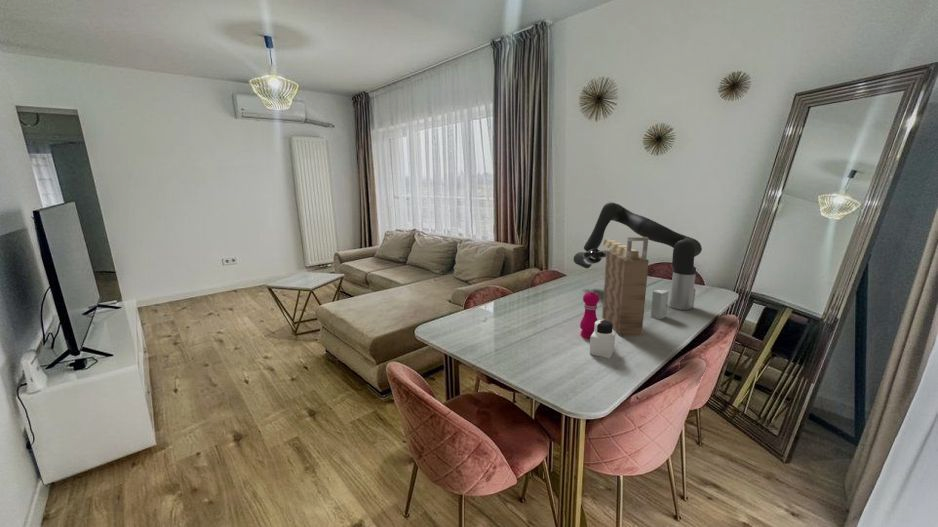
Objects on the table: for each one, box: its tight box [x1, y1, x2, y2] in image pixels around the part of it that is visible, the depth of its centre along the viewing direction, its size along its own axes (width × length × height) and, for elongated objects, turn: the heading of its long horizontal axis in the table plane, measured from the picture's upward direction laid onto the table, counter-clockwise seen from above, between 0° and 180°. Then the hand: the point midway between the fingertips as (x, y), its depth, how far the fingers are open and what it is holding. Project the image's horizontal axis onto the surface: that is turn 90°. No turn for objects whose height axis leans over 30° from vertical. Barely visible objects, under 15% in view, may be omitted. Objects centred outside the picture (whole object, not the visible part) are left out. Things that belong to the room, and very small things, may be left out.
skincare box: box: [650, 288, 670, 320], centre depth 161 cm, size 6×4×12 cm
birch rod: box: [602, 238, 639, 259], centre depth 154 cm, size 30×3×3 cm, turn 179°
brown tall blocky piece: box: [601, 236, 650, 337], centre depth 149 cm, size 20×9×40 cm, turn 179°
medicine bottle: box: [589, 319, 616, 359], centre depth 130 cm, size 7×7×12 cm
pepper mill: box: [579, 288, 600, 340], centre depth 142 cm, size 7×7×20 cm
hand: (603, 252), depth 175 cm, fingers open, 8 cm apart
